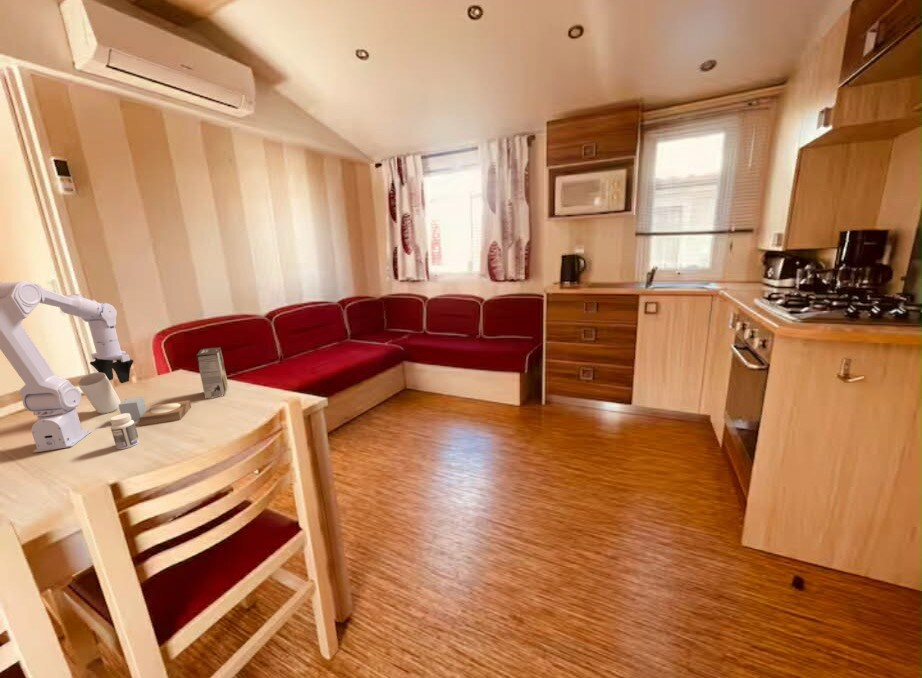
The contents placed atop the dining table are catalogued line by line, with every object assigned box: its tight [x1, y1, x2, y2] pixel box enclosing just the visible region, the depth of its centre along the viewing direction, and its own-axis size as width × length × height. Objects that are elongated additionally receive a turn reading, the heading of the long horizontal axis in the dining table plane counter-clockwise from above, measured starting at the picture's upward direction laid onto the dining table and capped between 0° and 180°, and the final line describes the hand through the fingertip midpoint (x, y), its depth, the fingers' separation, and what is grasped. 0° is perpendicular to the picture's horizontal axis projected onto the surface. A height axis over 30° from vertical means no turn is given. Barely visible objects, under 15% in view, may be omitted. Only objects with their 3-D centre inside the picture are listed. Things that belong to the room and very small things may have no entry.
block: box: [118, 396, 148, 422], centre depth 116 cm, size 4×4×6 cm
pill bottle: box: [110, 413, 140, 450], centre depth 99 cm, size 5×5×8 cm
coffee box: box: [196, 346, 229, 400], centre depth 133 cm, size 9×6×16 cm
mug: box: [76, 371, 122, 414], centre depth 120 cm, size 10×7×12 cm, turn 53°
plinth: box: [139, 399, 192, 426], centre depth 117 cm, size 10×10×3 cm
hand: (116, 381), depth 121 cm, fingers open, 7 cm apart
